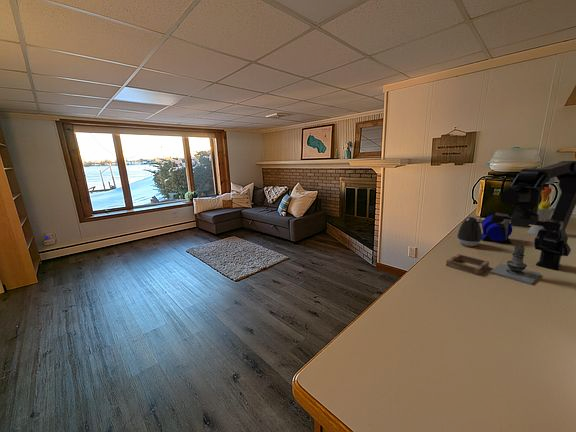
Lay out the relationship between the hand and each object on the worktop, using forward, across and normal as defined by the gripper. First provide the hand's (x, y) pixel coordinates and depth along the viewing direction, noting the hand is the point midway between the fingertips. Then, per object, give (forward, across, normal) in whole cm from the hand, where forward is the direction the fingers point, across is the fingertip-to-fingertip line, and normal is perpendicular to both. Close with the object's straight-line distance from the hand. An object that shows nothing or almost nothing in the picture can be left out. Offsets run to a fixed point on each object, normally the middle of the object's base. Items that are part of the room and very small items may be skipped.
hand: (520, 242), depth 91 cm
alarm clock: (+13, -18, +40) cm, 46 cm away
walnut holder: (+13, -14, -7) cm, 20 cm away
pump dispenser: (+13, -24, +22) cm, 35 cm away
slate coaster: (+13, 0, -1) cm, 13 cm away
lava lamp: (+13, -7, +70) cm, 72 cm away
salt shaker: (+12, 0, -1) cm, 12 cm away
